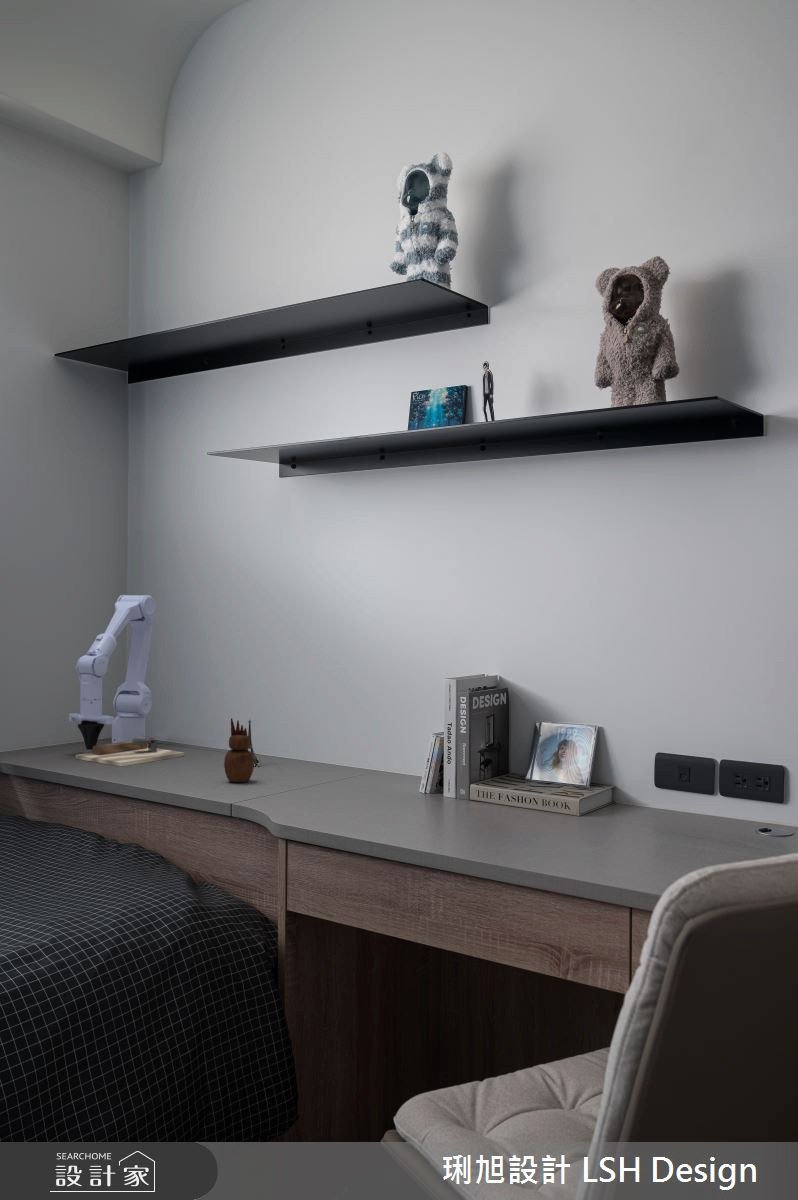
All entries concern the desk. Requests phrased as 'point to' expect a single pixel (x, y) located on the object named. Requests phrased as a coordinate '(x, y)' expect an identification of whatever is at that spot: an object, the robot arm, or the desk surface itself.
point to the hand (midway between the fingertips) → (90, 749)
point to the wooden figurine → (238, 756)
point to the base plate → (130, 756)
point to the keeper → (151, 743)
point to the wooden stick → (117, 747)
